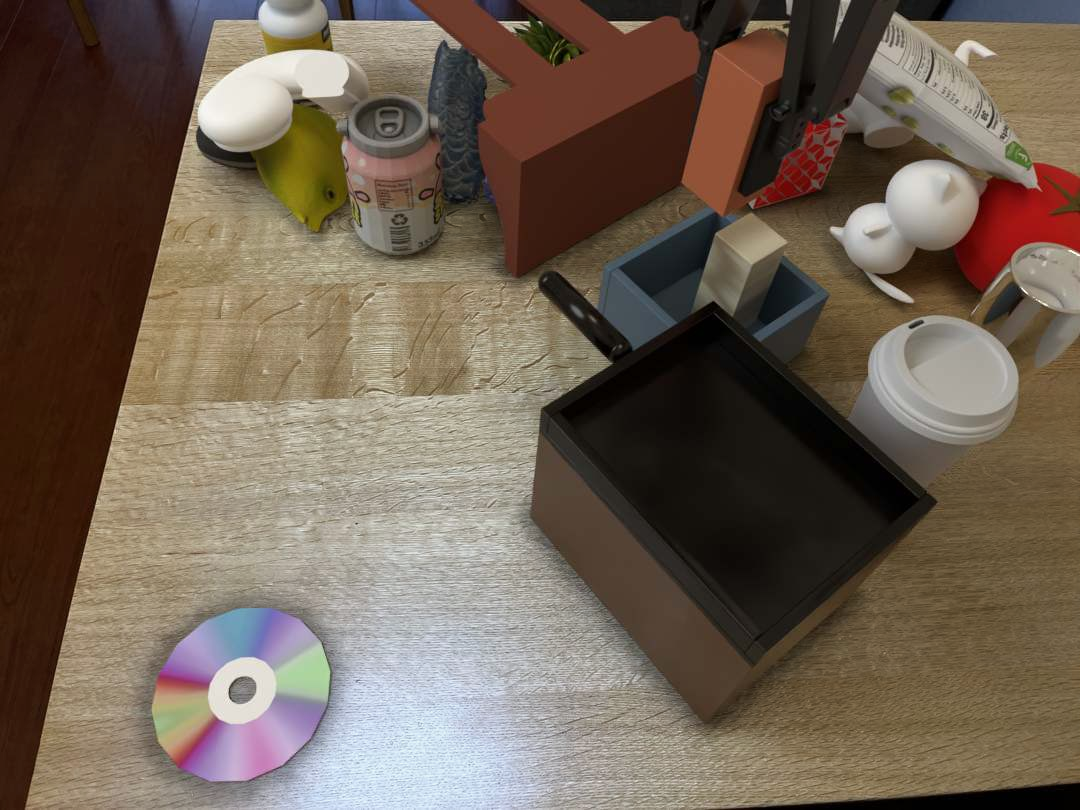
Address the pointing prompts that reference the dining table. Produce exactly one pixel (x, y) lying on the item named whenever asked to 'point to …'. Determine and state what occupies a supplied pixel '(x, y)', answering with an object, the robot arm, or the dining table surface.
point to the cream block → (741, 269)
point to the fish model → (458, 120)
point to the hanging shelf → (576, 121)
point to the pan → (711, 497)
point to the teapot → (883, 127)
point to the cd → (256, 726)
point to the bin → (673, 280)
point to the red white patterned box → (806, 162)
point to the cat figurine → (911, 219)
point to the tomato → (1020, 221)
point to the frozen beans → (940, 101)
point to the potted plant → (547, 43)
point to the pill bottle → (295, 27)
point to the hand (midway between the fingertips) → (730, 164)
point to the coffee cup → (935, 393)
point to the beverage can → (394, 173)
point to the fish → (306, 166)
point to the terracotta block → (732, 118)
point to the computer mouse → (226, 152)
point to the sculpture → (277, 96)
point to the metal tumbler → (1033, 305)
